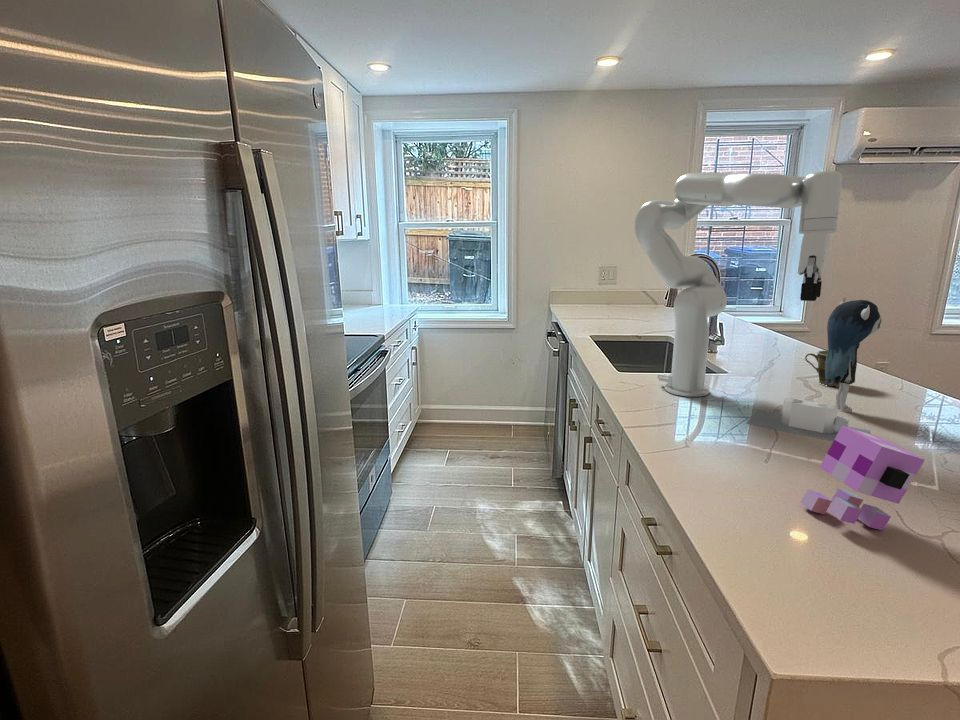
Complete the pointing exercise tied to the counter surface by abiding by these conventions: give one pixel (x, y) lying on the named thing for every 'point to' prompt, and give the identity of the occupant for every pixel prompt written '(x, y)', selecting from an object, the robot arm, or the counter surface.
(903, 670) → the counter surface
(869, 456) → the toy
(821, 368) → the ceramic cup
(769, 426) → the mat
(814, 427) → the plug
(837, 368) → the toy
